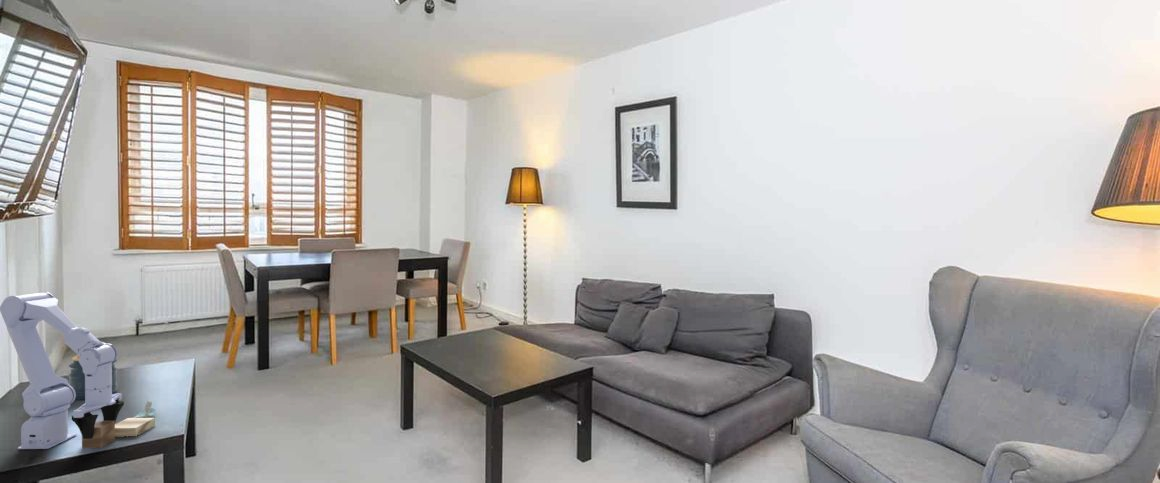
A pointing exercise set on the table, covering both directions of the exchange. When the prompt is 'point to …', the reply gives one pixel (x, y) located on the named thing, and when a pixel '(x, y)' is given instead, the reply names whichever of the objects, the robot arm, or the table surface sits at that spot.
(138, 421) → the maple block
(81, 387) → the canister
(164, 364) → the table surface
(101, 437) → the walnut cube
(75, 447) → the table surface
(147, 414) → the pacifier
